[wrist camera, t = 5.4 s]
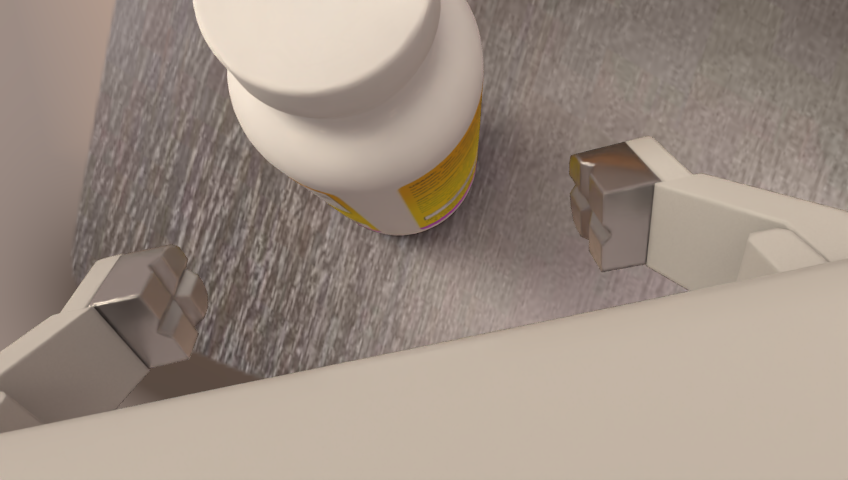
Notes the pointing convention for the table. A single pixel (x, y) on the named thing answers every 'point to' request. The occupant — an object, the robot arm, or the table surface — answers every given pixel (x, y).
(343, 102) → the supplement bottle
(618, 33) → the table surface
